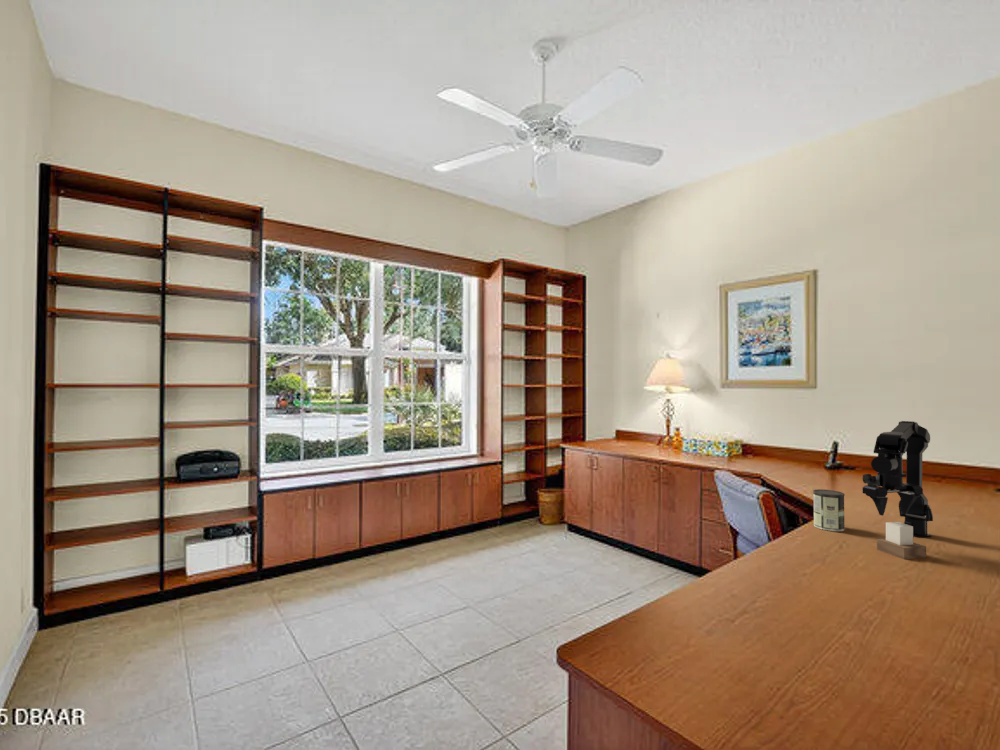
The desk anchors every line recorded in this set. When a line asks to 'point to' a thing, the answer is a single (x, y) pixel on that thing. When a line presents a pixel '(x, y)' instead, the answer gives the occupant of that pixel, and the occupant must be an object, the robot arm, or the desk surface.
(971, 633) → the desk surface
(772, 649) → the desk surface
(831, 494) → the coffee can
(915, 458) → the robot arm
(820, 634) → the desk surface
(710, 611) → the desk surface
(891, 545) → the walnut block
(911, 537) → the cream block
